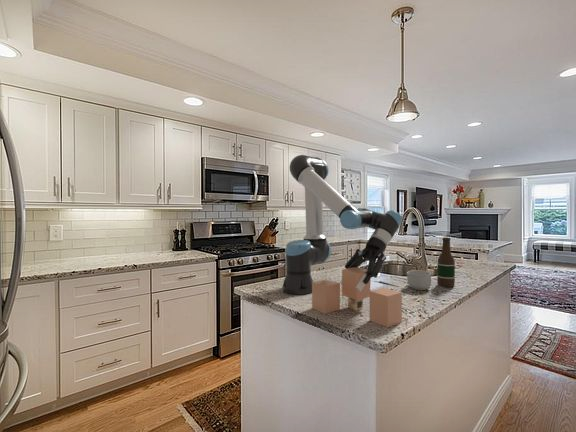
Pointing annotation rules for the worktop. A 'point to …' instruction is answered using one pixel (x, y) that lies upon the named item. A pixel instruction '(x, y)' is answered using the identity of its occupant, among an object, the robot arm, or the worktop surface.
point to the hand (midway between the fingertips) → (350, 286)
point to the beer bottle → (446, 266)
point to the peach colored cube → (326, 296)
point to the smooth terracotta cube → (354, 283)
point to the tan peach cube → (385, 307)
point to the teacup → (419, 279)
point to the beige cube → (355, 304)
